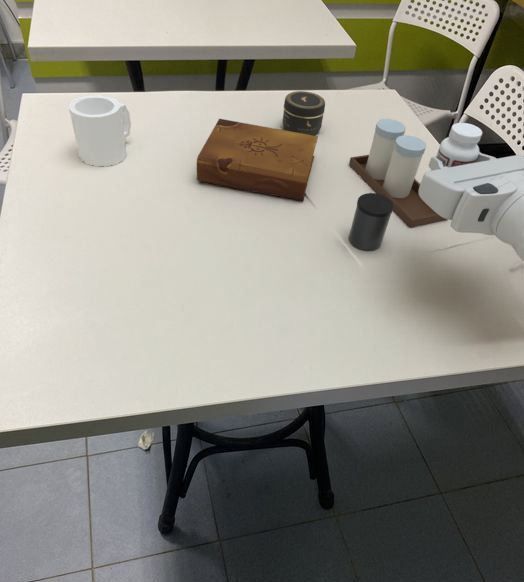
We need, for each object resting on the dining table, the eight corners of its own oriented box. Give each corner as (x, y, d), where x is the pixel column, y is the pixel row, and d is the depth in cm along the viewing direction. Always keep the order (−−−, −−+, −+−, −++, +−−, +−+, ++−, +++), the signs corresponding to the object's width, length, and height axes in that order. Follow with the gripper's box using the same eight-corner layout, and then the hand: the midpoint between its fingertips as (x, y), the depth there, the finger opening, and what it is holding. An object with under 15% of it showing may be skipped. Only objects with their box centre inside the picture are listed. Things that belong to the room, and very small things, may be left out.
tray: (348, 167, 115) (350, 157, 113) (383, 161, 118) (385, 151, 116) (408, 230, 100) (412, 220, 98) (446, 222, 103) (451, 212, 101)
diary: (196, 183, 105) (196, 158, 101) (218, 142, 117) (219, 118, 113) (302, 202, 103) (306, 178, 99) (313, 159, 116) (317, 135, 111)
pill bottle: (465, 191, 85) (492, 128, 77) (454, 207, 82) (481, 143, 73) (431, 179, 87) (454, 116, 79) (419, 194, 84) (442, 130, 75)
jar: (288, 141, 120) (292, 109, 114) (276, 122, 126) (279, 91, 120) (326, 138, 123) (332, 107, 117) (312, 120, 129) (317, 89, 123)
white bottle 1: (382, 164, 115) (395, 117, 107) (396, 178, 112) (411, 130, 103) (359, 168, 113) (371, 120, 105) (373, 182, 110) (386, 134, 102)
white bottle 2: (399, 181, 111) (415, 133, 103) (415, 196, 108) (432, 148, 99) (376, 185, 109) (390, 137, 101) (391, 200, 106) (407, 152, 97)
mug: (111, 133, 116) (104, 85, 108) (145, 147, 113) (140, 99, 105) (69, 156, 108) (57, 106, 100) (104, 171, 105) (96, 122, 97)
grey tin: (369, 230, 99) (381, 190, 92) (387, 250, 95) (400, 210, 89) (341, 236, 97) (351, 196, 90) (358, 256, 93) (369, 216, 86)
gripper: (572, 173, 73) (508, 130, 81) (463, 196, 67) (406, 147, 75) (550, 210, 78) (492, 166, 86) (446, 234, 72) (395, 184, 80)
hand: (451, 157), depth 80 cm, fingers closed on pill bottle, 6 cm apart
